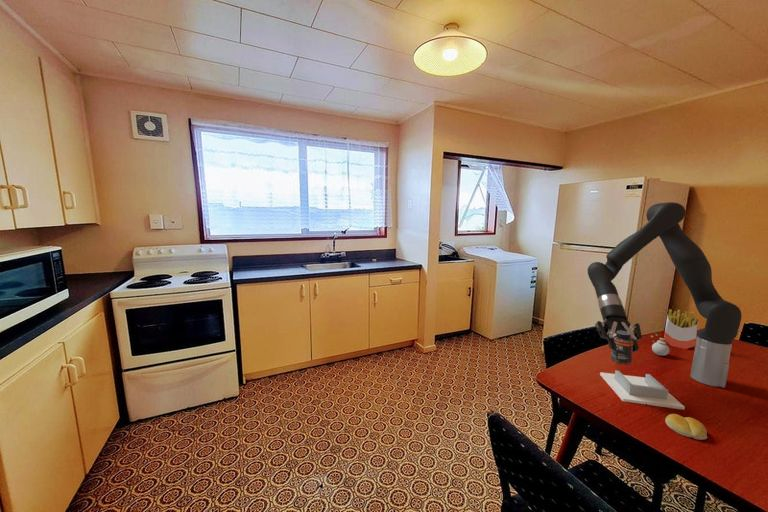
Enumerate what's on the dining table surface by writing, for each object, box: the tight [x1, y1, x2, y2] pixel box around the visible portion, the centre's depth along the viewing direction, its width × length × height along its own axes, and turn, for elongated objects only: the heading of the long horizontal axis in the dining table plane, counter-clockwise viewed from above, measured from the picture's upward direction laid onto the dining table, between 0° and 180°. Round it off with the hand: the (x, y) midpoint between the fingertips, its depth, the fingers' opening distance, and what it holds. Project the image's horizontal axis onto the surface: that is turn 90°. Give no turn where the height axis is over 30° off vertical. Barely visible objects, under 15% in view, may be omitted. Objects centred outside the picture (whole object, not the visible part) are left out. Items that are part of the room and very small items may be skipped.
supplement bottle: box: [610, 331, 634, 366], centre depth 108 cm, size 6×6×11 cm
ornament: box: [650, 333, 670, 356], centre depth 139 cm, size 6×7×10 cm
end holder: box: [599, 369, 686, 411], centre depth 111 cm, size 18×18×4 cm
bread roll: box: [664, 413, 708, 441], centre depth 91 cm, size 8×9×4 cm
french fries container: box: [663, 309, 699, 350], centre depth 147 cm, size 5×11×18 cm, turn 47°
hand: (624, 350), depth 106 cm, fingers closed on supplement bottle, 6 cm apart
